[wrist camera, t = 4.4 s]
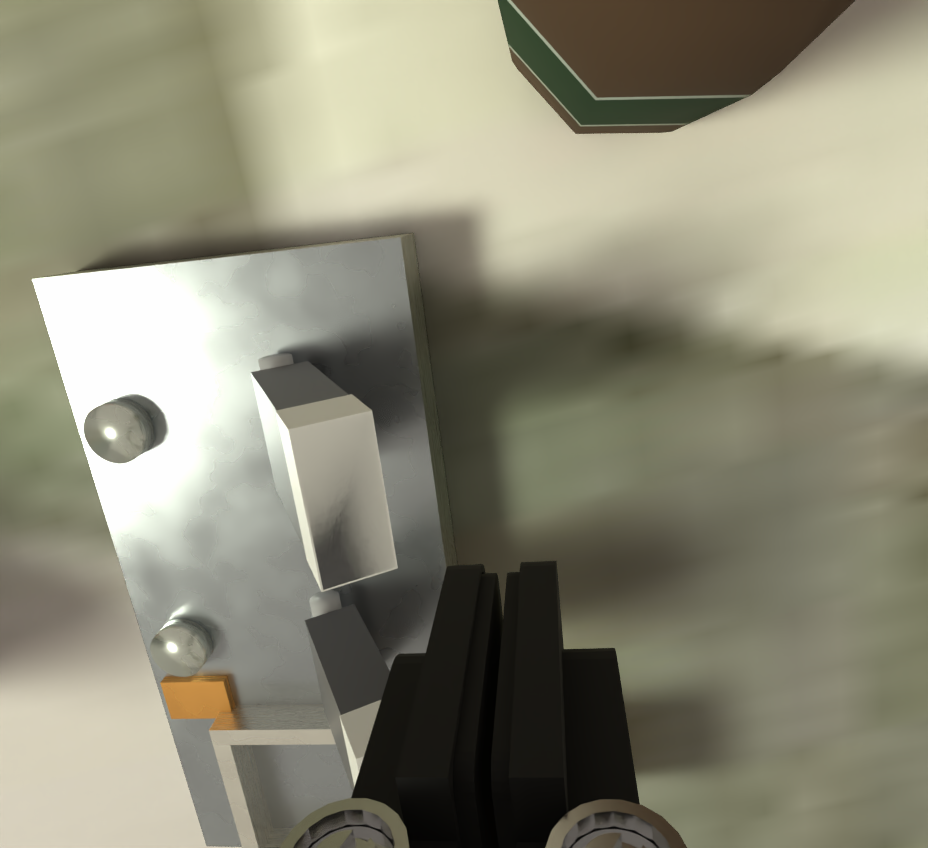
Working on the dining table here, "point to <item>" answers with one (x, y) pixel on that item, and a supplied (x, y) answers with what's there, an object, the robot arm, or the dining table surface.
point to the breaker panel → (250, 495)
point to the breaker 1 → (325, 470)
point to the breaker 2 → (346, 675)
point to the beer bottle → (655, 55)
